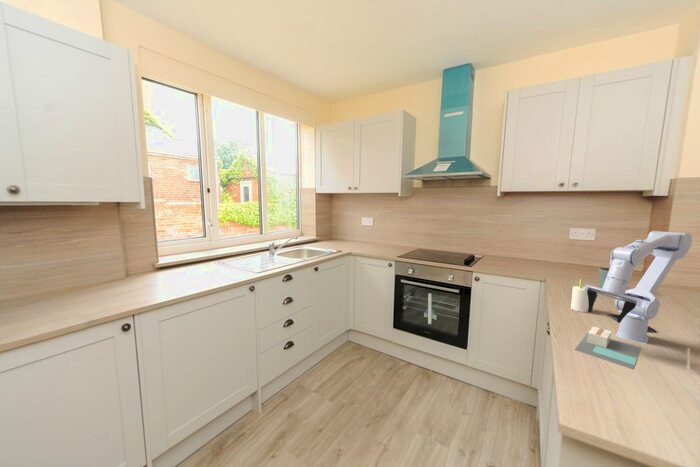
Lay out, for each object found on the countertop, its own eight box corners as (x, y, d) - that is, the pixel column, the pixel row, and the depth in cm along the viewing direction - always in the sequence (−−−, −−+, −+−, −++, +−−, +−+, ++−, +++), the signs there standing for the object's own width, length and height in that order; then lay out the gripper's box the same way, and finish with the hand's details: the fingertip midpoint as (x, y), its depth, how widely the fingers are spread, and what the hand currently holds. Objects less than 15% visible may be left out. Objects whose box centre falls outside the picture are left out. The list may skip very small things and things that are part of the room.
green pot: (623, 293, 152) (625, 272, 151) (599, 290, 157) (601, 270, 156) (618, 288, 160) (620, 268, 159) (595, 285, 166) (597, 266, 164)
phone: (634, 329, 107) (606, 313, 122) (634, 331, 107) (606, 316, 122) (658, 331, 106) (627, 315, 120) (657, 333, 106) (626, 317, 120)
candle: (592, 312, 126) (595, 280, 124) (580, 312, 125) (583, 281, 123) (578, 306, 132) (582, 276, 130) (567, 307, 131) (570, 277, 129)
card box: (592, 335, 102) (593, 326, 102) (610, 340, 98) (611, 331, 98) (587, 342, 97) (588, 332, 97) (606, 347, 93) (607, 337, 93)
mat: (587, 333, 104) (588, 332, 104) (640, 349, 94) (641, 347, 94) (574, 351, 92) (574, 349, 92) (633, 371, 81) (633, 369, 81)
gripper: (588, 271, 97) (575, 306, 97) (647, 286, 86) (632, 326, 86) (591, 275, 102) (578, 309, 102) (647, 289, 91) (633, 327, 91)
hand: (603, 317), depth 94 cm, fingers open, 7 cm apart
